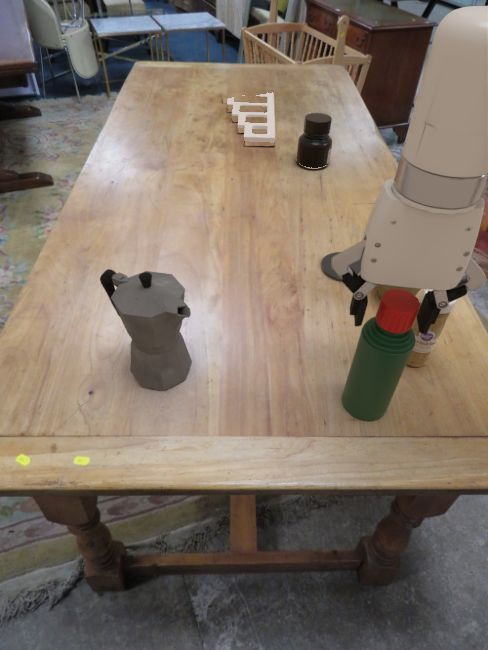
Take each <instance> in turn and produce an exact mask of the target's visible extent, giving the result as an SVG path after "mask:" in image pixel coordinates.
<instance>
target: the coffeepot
mask: <svg viewBox="0 0 488 650" xmlns="http://www.w3.org/2000/svg"><path fill="white" fill-rule="evenodd" d="M99 281H100V284H101V286H102V288H103V289H104V291H105V293H106V295H107V297H108V299H109V301H110V303H111V305H112V307H113V308H114V311H115V312H116V314H117V316H118V317H119V318H120V320H121V322H122V325H123V326H124V328H125V330H126V332H127V334H128V336H129V337H130V339H131V341H130V373H131V374H132V375H133V377H134V379H135V380H136V382H137V383H138V385H139V386H140V387H141V388H144V389H148V390H153V391H166V390H170V389H172V388H174V387H176V386H178V385H180V384H182V382H183V381H185V380H187V377H188V374H189V372H190V369H191V365H192V363H193V360H192V359H191V355H190V352H189V349H188V347H187V344H186V341H185V339H184V336H183V335H182V333H181V332H180V331H181V329H182V326H183V320H185V319H186V318H188V319H189V318H190V317H191V315H192V314H191V308H190V307H189V305H188V304H187V303H186V301H185V292H186V288H185V287H184V286H183V285H182V284H181V283H180V282H179V280H178V279H177V278H176V277H175V276H174V275H173V273H167V272H157V271H149V270H145V271H143V272H140V273H137V274H135V275H134V274H133V275H131V276H129V277H128V275H127V274H124V273H123V272H120V271H119V272H118V273H117V272H116V271H114V270H113V269H110V268H109V269H106V270H104V271H103V273H101V275H100V278H99Z"/></svg>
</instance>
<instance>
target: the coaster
mask: <svg viewBox="0 0 488 650" xmlns="http://www.w3.org/2000/svg"><path fill="white" fill-rule="evenodd" d="M341 252H342V251H336V252H331V253H328V254H327V255H325V256H324V257H323V258H322V260H321V262H320V268H321V271H322V273H324V275H326V276H327V277H329V278H330V279H332V280H335V281H337V282H342V279H341V278H340V277H339V276H338V275H337V274H336V272H335V271H334V270H333V269H332V267H331V259H332V257H333V256H335V255H337V254H339V253H341ZM361 261H362V259H361V260H359V261H357V262H355V263H353V264H351V265H349V267H350V268H352V269H353V270H354V271H355V272H356V274H358V273H359V272H360V271H361Z"/></svg>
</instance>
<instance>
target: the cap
mask: <svg viewBox="0 0 488 650" xmlns="http://www.w3.org/2000/svg"><path fill="white" fill-rule="evenodd" d="M419 306H420V299H419V298H418V297H417V296H416V295H413V294H412V293H410V292H408V291H405V290H401V289H392V290H388V291H386V292H385V293H384V294H383V297H382V299H380V301H379V305H378V307H377V312H376V314H375V316H376V321H377V323H378V325H379V326H380V327H381V328H383V329H384V330H386V331H388V332H391V333H405V332H407V331H408V330H409V329H410V328H411V327H412V325H413V322H414V320H415V317H416V315H417V312H418V310H419Z"/></svg>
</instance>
